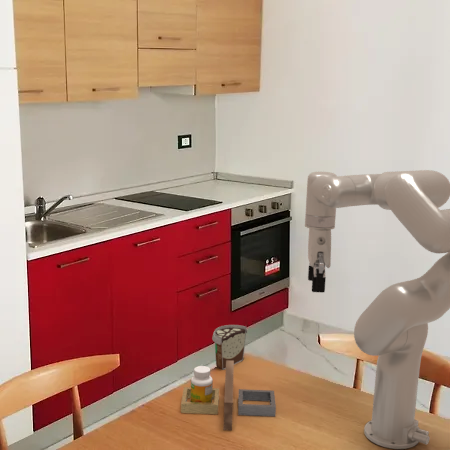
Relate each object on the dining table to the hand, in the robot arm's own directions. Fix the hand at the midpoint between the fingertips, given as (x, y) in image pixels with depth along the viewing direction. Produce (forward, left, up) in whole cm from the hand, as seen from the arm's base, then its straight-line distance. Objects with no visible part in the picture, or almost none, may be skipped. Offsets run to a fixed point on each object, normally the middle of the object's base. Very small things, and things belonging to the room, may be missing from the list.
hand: (316, 286), depth 182 cm
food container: (+27, +3, -28) cm, 39 cm away
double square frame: (+9, +23, -28) cm, 38 cm away
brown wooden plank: (+9, +23, -28) cm, 38 cm away
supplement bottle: (+14, +27, -28) cm, 42 cm away
